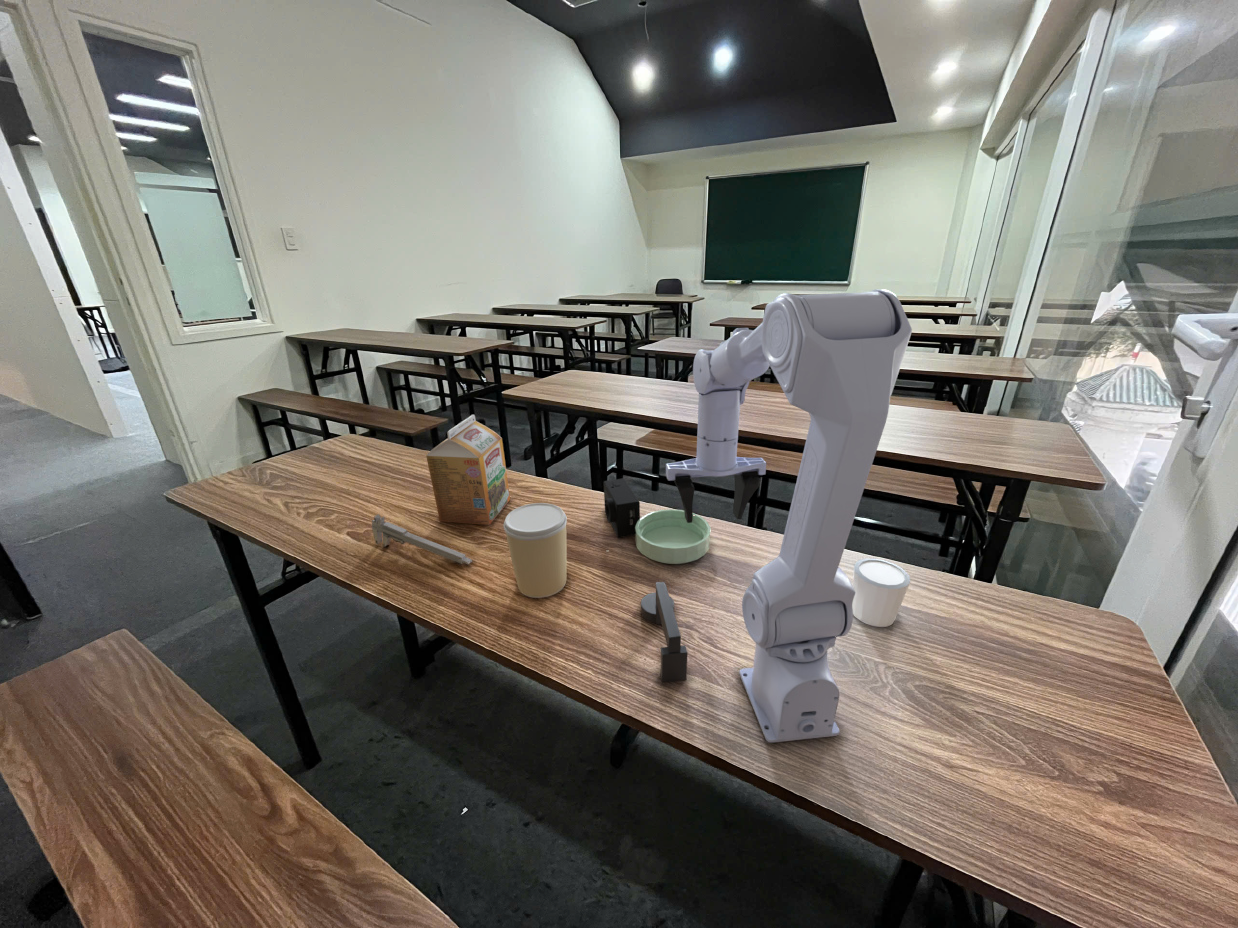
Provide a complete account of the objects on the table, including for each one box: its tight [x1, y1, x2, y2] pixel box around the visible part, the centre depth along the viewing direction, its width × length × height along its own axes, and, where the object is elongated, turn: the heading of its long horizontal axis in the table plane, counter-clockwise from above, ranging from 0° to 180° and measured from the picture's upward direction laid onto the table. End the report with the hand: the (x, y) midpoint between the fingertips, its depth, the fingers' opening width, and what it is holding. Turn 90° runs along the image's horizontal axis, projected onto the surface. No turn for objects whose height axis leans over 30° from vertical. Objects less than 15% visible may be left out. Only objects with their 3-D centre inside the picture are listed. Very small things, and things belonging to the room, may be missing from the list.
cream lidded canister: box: [503, 502, 568, 599], centre depth 74 cm, size 9×9×12 cm
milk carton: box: [425, 414, 511, 526], centre depth 95 cm, size 11×11×19 cm
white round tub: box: [851, 557, 911, 628], centre depth 66 cm, size 7×7×7 cm
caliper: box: [371, 513, 473, 565], centre depth 83 cm, size 20×1×6 cm, turn 70°
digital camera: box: [603, 478, 641, 539], centre depth 91 cm, size 10×5×7 cm, turn 15°
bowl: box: [634, 508, 712, 565], centre depth 84 cm, size 13×13×4 cm
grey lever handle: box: [640, 581, 688, 683], centre depth 63 cm, size 15×5×7 cm, turn 5°
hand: (712, 517), depth 74 cm, fingers open, 7 cm apart
